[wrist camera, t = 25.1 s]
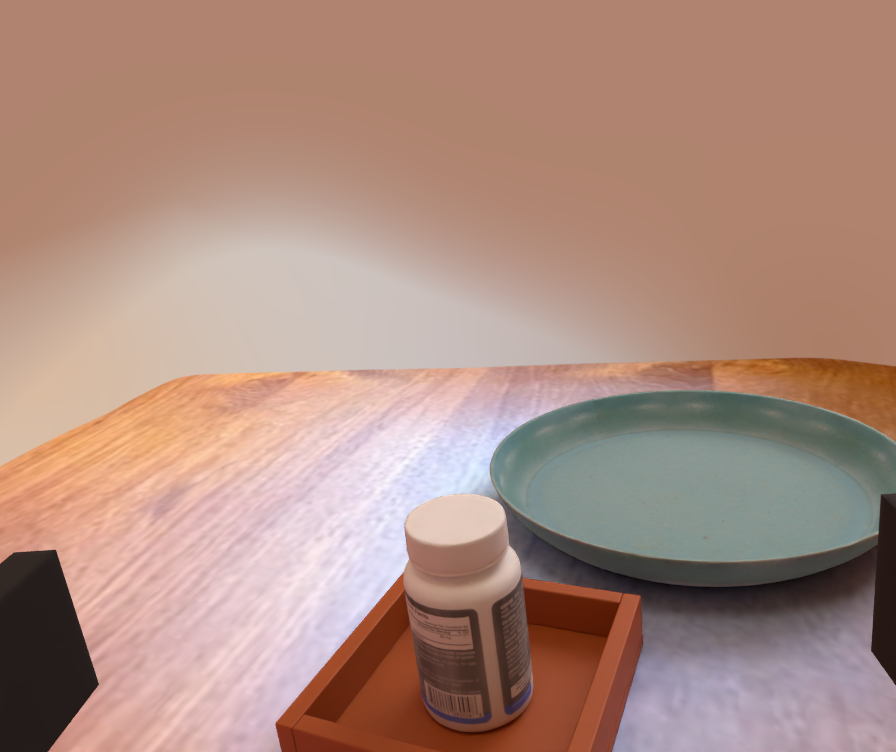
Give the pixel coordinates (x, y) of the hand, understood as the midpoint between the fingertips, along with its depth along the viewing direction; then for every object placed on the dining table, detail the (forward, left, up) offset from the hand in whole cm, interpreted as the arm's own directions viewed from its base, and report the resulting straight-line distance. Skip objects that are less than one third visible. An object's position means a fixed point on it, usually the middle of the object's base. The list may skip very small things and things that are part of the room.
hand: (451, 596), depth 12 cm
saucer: (+1, -34, -16) cm, 37 cm away
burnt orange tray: (+7, -14, -16) cm, 22 cm away
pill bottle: (+7, -14, -15) cm, 22 cm away
